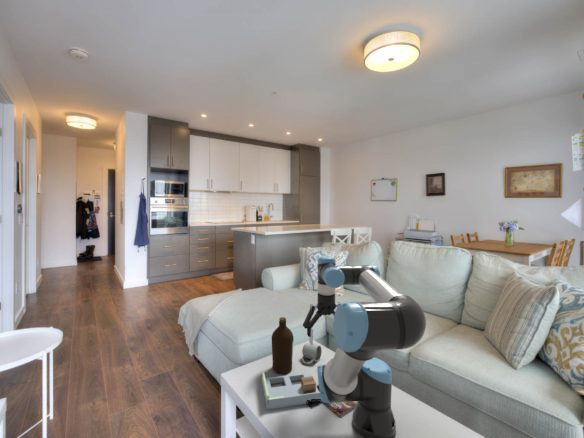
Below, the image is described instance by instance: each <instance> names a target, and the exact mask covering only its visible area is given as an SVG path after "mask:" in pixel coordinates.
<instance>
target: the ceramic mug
mask: <svg viewBox="0 0 584 438" xmlns="http://www.w3.org/2000/svg"><path fill="white" fill-rule="evenodd" d="M301 351H302V352H301V353H302V357H301V359H302V360H301V361H302V363H303V364H304V365H311V364H312V363H313V362H320V359H321V357H322V353H323V352H322V347H321V345H319V344H314V343H313V345H311V344H310V343H309V342H306V343H305V344H304V345H303V347H302V350H301ZM304 359H308V360H310V361H305V360H304Z"/></svg>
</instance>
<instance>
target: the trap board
mask: <svg viewBox="0 0 584 438" xmlns="http://www.w3.org/2000/svg"><path fill="white" fill-rule="evenodd" d="M261 374H262V376H261V381H262V382H261V384H262V389H263V395H264V400H265V401H264V402H265V408H266V410H267V411H268V410H273V409H280V408H287V407H293V406H300V405H305V404H306V401H307V400H310V399H321V398H320V391H319V387H318V386H317V385H316V392H312V393H305V394H304V393H303V390H302V388H301V378H302V377H309V376H312V373H311V372H304V373H302V372H301V373H296V374H295V373H294V374H288V375H286V374H285V375H280V376H278V375H277V376H273V377H270V376H269V377H266V375H265V371H262V372H261Z"/></svg>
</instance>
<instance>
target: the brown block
mask: <svg viewBox="0 0 584 438" xmlns="http://www.w3.org/2000/svg"><path fill="white" fill-rule="evenodd" d="M316 386H317V382H316V380H315V379H314V376H313V375H311V376H309V377H302V378H301V388H302V390H303V393H304V394H305V393H312V392H316Z"/></svg>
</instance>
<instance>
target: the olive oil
mask: <svg viewBox="0 0 584 438" xmlns="http://www.w3.org/2000/svg"><path fill="white" fill-rule="evenodd" d="M278 320H279V321H278V327H277V328H275V329H274V331H273V332H272V335H271V355H272V371H273V372H274V373H275V374H278V375H286V374H289V373H290V372H291V371H292V369H293V355H294V334H293V332H292V331H291V329H290V328H289V327H288V326H287V318H286V317H284V316H283V317H282V316H281V317H279V319H278Z"/></svg>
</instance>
